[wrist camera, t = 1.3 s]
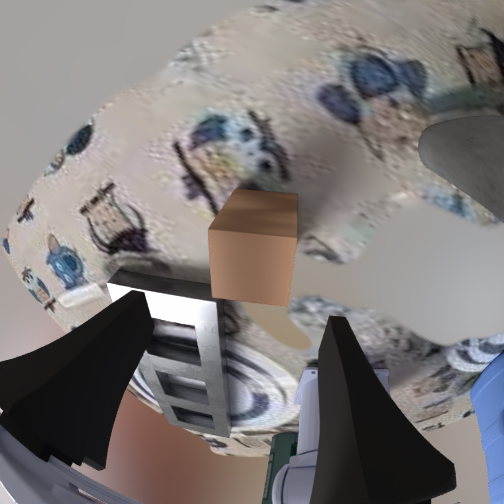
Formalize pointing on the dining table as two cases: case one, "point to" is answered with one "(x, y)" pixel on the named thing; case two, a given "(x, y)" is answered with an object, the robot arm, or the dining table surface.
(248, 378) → the dining table surface
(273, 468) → the can
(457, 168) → the hip flask
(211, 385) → the grey flat perforated plate
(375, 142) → the dining table surface
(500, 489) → the water jug
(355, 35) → the dining table surface
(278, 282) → the square block
